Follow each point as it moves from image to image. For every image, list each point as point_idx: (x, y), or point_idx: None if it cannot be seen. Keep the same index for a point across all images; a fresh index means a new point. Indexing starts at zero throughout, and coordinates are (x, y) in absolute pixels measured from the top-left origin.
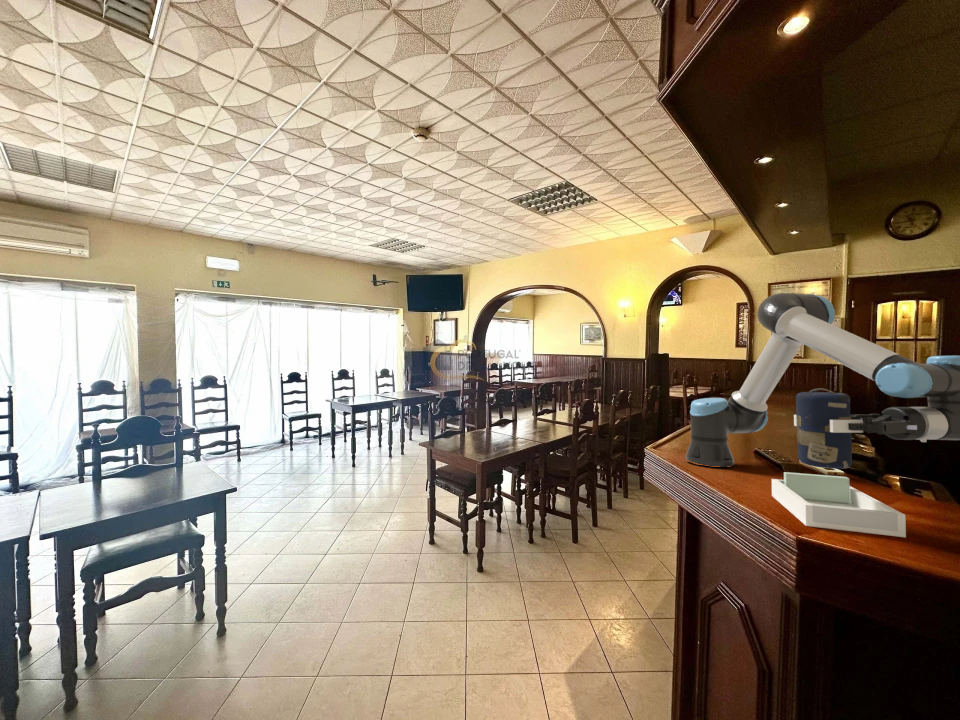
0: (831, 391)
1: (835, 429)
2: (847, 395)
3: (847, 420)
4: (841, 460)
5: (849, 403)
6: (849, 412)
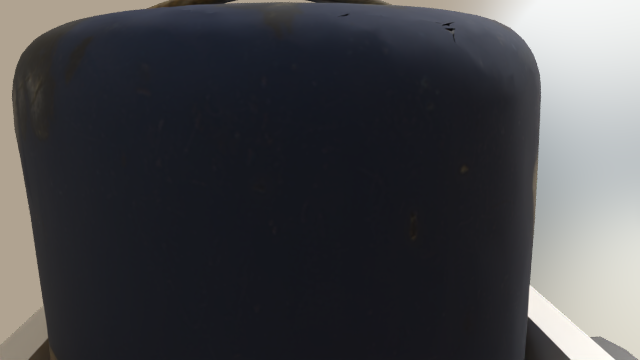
0: (162, 4)
1: None
2: (35, 41)
3: (22, 327)
4: None
5: (24, 166)
6: (42, 291)
